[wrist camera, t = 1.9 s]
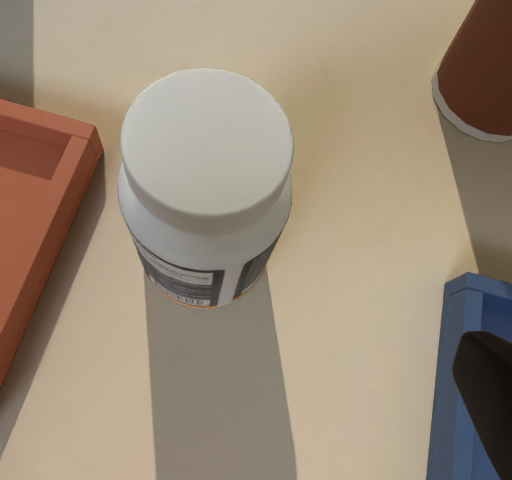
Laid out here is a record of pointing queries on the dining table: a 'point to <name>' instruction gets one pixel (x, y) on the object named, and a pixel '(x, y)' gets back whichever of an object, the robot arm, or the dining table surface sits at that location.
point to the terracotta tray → (36, 206)
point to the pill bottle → (205, 183)
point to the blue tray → (446, 392)
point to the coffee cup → (479, 73)
